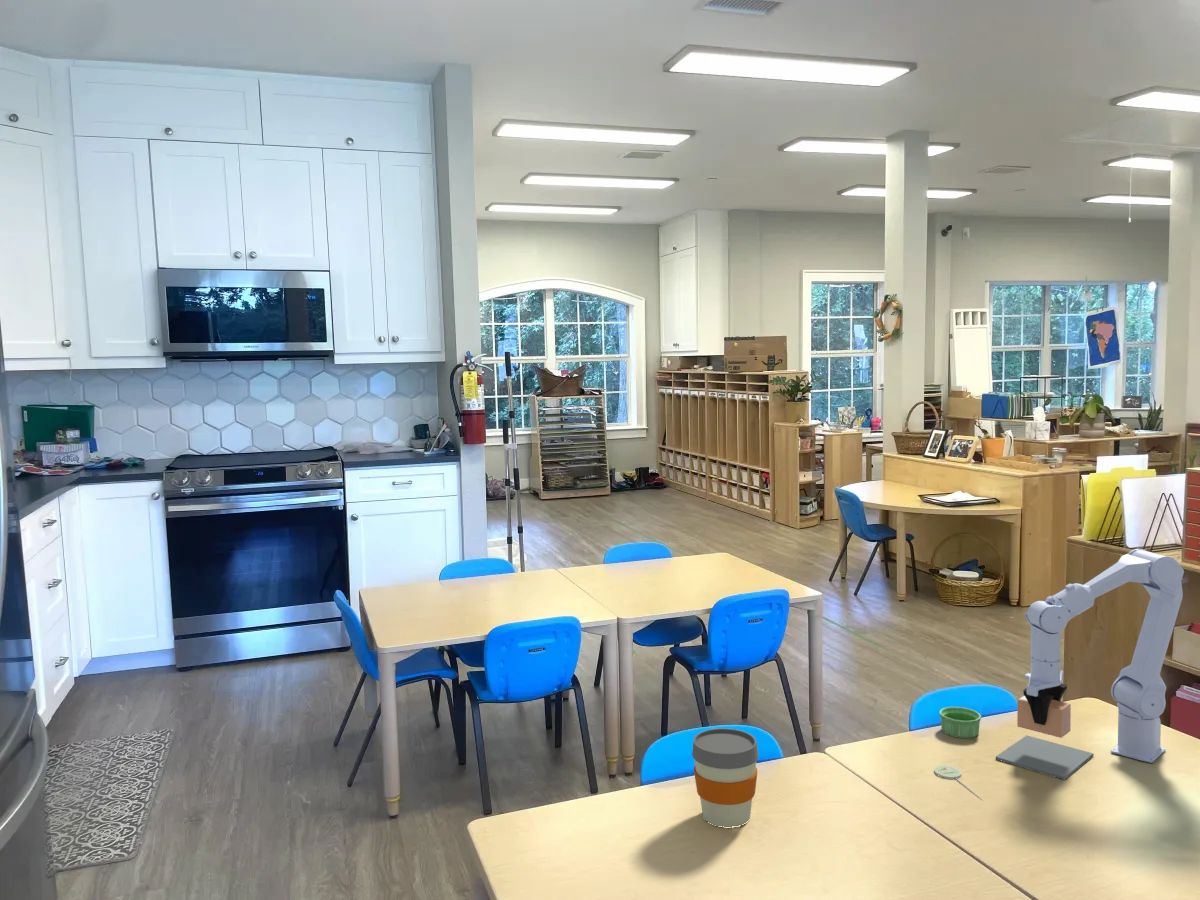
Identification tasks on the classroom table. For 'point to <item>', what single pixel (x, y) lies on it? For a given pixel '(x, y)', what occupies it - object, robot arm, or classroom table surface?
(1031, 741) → the mat
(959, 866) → the classroom table surface
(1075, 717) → the classroom table surface
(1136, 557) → the robot arm
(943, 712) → the ramekin
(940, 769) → the sign
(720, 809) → the reusable coffee cup
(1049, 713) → the brick
